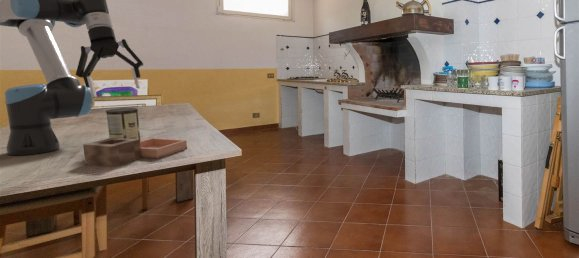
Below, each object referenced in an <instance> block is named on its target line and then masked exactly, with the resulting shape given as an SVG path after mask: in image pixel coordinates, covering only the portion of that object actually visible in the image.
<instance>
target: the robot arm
mask: <svg viewBox="0 0 579 258" xmlns="http://www.w3.org/2000/svg"><path fill="white" fill-rule="evenodd" d="M109 11H110V10H109V8H108V4H107V0H0V26H2V27H9V28H10V27H12V28H17V30H18V32H19V33H20V34H21V35H22V36H24V37H26V39H27V40H28V44H29V46H30V48H31V50H32V52H33V54H34V56H35V59H36V61H37V63H38V65H39V68H40V69H41V72H42V74H43V76H44V78H45V81H46V84H45V83H35V84H34V83H33V84H24V85H19V86H18V85H17V86H13V87H9V88H8V89H6V90H5V93H4V95H5V96H4V99H5V100H4V101H5V102H4V103H5V107H6V110H7V117H8V125H9V130H10V131H9V136H8V138H7V139H8V140H7V144H6V154H7V155H8V154H9V156H27V155H38V154H43V153H48V152H49V153H50V152H52V151H56V150H58V149H60V141H59V139H58V138H57V136H56V133H55V132H54V130H53V128H52V124H51V120H55V119H64V118H72V117H75V118H78V117H80V116H81V117H82V116H86V115H88V114H89V113H90V112H91V110H92V108H93V103H94V101H93V99H94V98H97V97H98V95H97V92H96V88H95V84H94V80H93V77H92V76H91V75H92V73H93V71H94V69H95V68H96V65H97V64H98V62H99V61H100V60H101V59H107V58H112V57H113V58H114V57H115V56H117V57H118V58H120V59H121V60H123V61H124V62H125V63H127V64H128V65H130V66H131V72H132V77H133V80H134V84H135V89H141V85H140V82H139V78H141V72H140V68H141V67H143V66H144V62H143V61H142V60H141V59H140V58H139V57H138V56H137V54H136V53H135V52H134V51H133V50H132V49H131V48H130V45H129V44H128V42H127V40H126V39H125V38H122V39H121V40H120V41H118V40H116V39H117V38H116V35H115V32H114V30H115V29H114V28H113V23H112V19H111V15H110V12H109ZM56 22H59V23H60V22H63V23H64V24H65V25H67V26H69V27H71V28H79V27H82V26H83V25H85V26H86V29H87V33H88V39H89V42H90V46H83V45H81V46H80V52H81V53H80V57H79V61H78V64H77V69H76V72H75V76H76V77H75V76H73V75H72V74H71V70H70V69H69V67H68V65H67V62H66V60H65V58H64V55H63V54H62V52H61V49H60V48H59V45H58V44H57V41H56V39H55V37H54V35H53V33H52V31H53V30H54V27H55V26H56ZM119 47H121V48H124V49H125V50H126V51H127V52H128V53H129V55H130V56H131V57H132V58H133V59H134V60H135V61H136V63H135V62H134V61H132V59H130V58H128V57H127V56H126V55H124V54H122V53H121V52H120V51H118V49H119ZM91 51H92V52H93V55H92V56H91V59H90V61H89V62H88V58H89V57H88V56H89V54H90V53H91ZM87 62H88V64H87ZM86 64H87V65H86ZM77 77H78V78H81V79H83V81H84V85H82V84H81V82H80V80H79V79H78V78H77Z"/></svg>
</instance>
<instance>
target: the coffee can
mask: <svg viewBox="0 0 579 258" xmlns="http://www.w3.org/2000/svg"><path fill="white" fill-rule="evenodd" d="M138 111H139V108H136V107H123V108H112V109H107V110H106V111H105V114H106V120H107V129H108V137H109V138H127V139H140V140H141V133H140V122H139V121H140V120H139V113H138ZM109 138H108V139H109Z"/></svg>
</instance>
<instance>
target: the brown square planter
mask: <svg viewBox="0 0 579 258" xmlns="http://www.w3.org/2000/svg"><path fill="white" fill-rule="evenodd" d="M140 141H141V138H140V139H127V138H105V139H102V140H97V141H92V142H89V143H84V144H82V148H83V155H84V163H85V165H94V166H101V167H102V166H103V167H113V168H114V167H116V166H120V165H123V164H126V163H129V162H132V161H135V160H139V159H141V158H142V157H141V148H140Z"/></svg>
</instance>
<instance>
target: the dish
mask: <svg viewBox="0 0 579 258" xmlns="http://www.w3.org/2000/svg"><path fill="white" fill-rule="evenodd" d="M140 148H141V158H145V159H156V160H157V159H161V158H163V157H166V156H169V155H173V154H175V153H177V152H181V151H184V150H186V149H188V145H187V140H186V139H174V138H173V139H172V138H159V137H158V138H156V137H151V138H148V139H143V140H140Z"/></svg>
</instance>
